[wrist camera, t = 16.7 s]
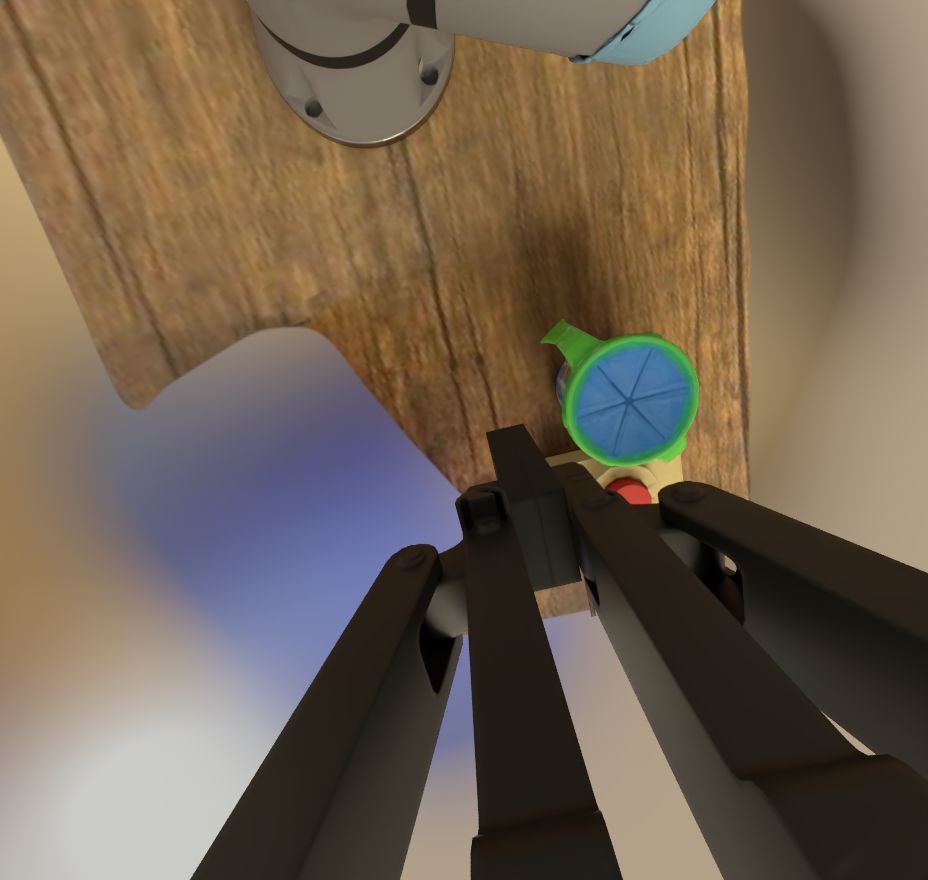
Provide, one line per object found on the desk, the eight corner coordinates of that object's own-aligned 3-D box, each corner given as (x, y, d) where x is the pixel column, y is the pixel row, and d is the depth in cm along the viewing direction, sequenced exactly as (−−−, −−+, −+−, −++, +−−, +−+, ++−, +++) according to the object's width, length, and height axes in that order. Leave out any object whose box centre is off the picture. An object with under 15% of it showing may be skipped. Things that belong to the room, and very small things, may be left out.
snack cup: (678, 408, 44) (742, 436, 34) (593, 471, 46) (631, 514, 36) (591, 283, 41) (635, 274, 31) (502, 355, 42) (518, 369, 32)
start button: (606, 519, 42) (612, 528, 41) (599, 482, 41) (606, 490, 40) (646, 510, 42) (654, 518, 41) (641, 473, 41) (649, 480, 40)
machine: (553, 525, 48) (565, 549, 43) (540, 458, 45) (550, 476, 41) (671, 498, 47) (696, 519, 42) (663, 429, 45) (688, 443, 40)
